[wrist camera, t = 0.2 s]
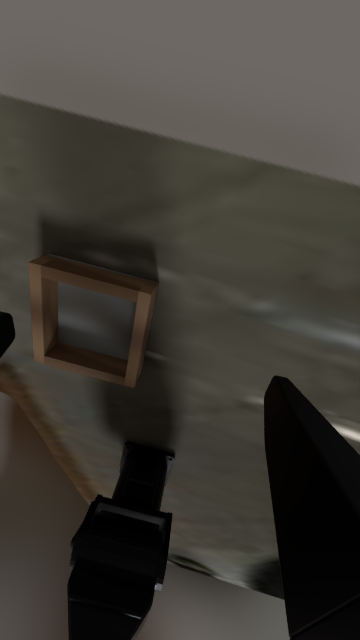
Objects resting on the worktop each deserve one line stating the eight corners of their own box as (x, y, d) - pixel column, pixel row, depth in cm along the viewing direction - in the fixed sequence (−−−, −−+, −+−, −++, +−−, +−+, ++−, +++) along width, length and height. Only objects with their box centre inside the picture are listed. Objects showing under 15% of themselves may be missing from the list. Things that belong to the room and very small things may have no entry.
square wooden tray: (142, 369, 28) (133, 388, 25) (51, 345, 28) (34, 361, 25) (159, 282, 23) (151, 294, 20) (49, 253, 23) (28, 261, 21)
